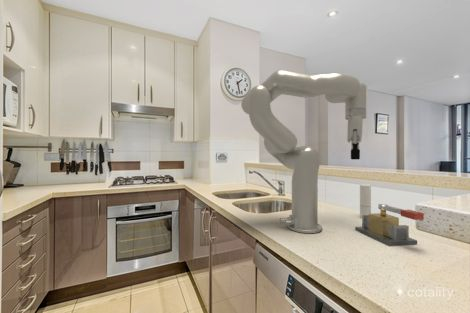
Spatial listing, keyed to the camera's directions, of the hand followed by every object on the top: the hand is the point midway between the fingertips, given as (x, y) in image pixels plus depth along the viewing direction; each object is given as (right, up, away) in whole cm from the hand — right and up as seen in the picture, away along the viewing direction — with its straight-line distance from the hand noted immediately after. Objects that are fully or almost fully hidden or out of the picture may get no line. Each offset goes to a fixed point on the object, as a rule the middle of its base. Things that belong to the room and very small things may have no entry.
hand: (355, 159), depth 88 cm
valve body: (+2, -27, -14) cm, 30 cm away
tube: (+10, -27, +9) cm, 30 cm away
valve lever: (+3, -17, -19) cm, 26 cm away
